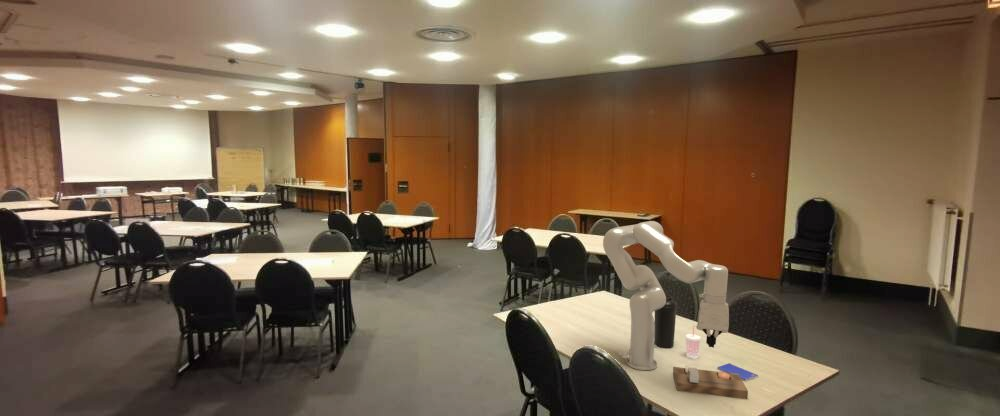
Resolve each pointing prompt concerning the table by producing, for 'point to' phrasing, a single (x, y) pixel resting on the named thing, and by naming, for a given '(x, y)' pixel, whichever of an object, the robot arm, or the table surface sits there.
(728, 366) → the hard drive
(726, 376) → the terracotta button
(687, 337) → the beverage cup
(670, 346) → the water bottle
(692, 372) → the grey block
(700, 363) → the table surface
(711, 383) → the panel
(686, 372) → the cream button
